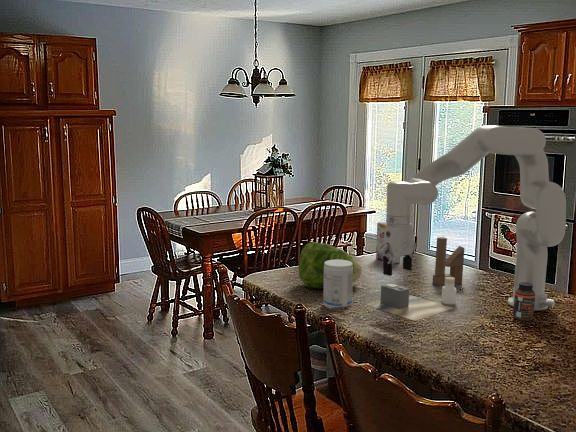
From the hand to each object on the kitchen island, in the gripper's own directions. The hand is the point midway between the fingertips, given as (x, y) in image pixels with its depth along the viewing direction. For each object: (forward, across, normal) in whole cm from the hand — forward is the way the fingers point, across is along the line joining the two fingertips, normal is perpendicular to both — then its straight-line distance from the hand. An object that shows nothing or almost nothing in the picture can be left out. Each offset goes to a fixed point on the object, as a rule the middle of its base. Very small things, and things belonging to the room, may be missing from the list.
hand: (397, 272), depth 188 cm
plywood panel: (+12, +2, -3) cm, 13 cm away
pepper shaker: (+13, +16, -8) cm, 22 cm away
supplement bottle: (+14, +24, -30) cm, 41 cm away
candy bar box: (+13, +48, +46) cm, 68 cm away
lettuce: (+12, 0, +32) cm, 34 cm away
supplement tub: (+12, -14, +14) cm, 23 cm away
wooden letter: (+13, +38, +8) cm, 41 cm away
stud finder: (+11, -1, 0) cm, 11 cm away
